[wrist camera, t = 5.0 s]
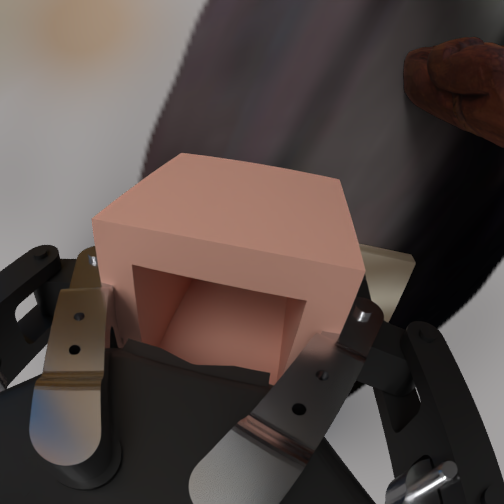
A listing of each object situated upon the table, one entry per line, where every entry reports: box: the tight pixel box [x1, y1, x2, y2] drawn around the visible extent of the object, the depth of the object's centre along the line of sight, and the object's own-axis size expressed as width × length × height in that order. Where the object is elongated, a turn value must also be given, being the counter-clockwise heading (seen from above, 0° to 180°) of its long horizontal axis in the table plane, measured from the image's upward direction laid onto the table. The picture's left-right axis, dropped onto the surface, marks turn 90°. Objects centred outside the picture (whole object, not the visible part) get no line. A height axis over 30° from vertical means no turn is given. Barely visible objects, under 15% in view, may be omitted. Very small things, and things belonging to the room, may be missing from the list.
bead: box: [92, 153, 366, 386], centre depth 10 cm, size 6×6×6 cm
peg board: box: [359, 244, 416, 322], centre depth 27 cm, size 14×17×10 cm
